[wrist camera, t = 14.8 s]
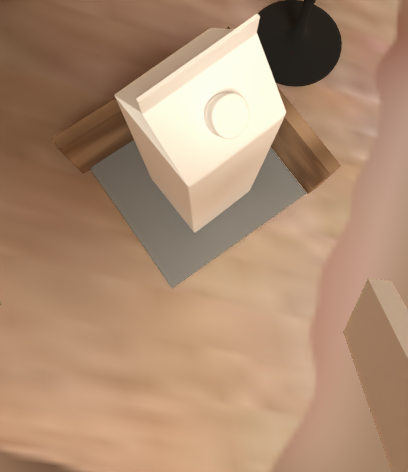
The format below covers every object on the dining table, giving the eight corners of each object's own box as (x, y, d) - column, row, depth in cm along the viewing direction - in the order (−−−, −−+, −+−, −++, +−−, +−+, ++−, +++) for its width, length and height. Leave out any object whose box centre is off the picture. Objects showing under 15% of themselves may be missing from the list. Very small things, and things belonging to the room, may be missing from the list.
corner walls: (77, 164, 35) (51, 138, 29) (224, 69, 37) (228, 26, 31) (165, 294, 33) (158, 295, 27) (317, 187, 35) (341, 165, 29)
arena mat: (90, 169, 35) (89, 168, 35) (220, 85, 37) (220, 83, 36) (172, 288, 33) (172, 288, 33) (305, 194, 35) (306, 193, 34)
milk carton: (151, 179, 34) (90, 44, 16) (206, 138, 35) (212, -37, 16) (194, 233, 34) (186, 160, 15) (250, 190, 34) (309, 68, 16)
